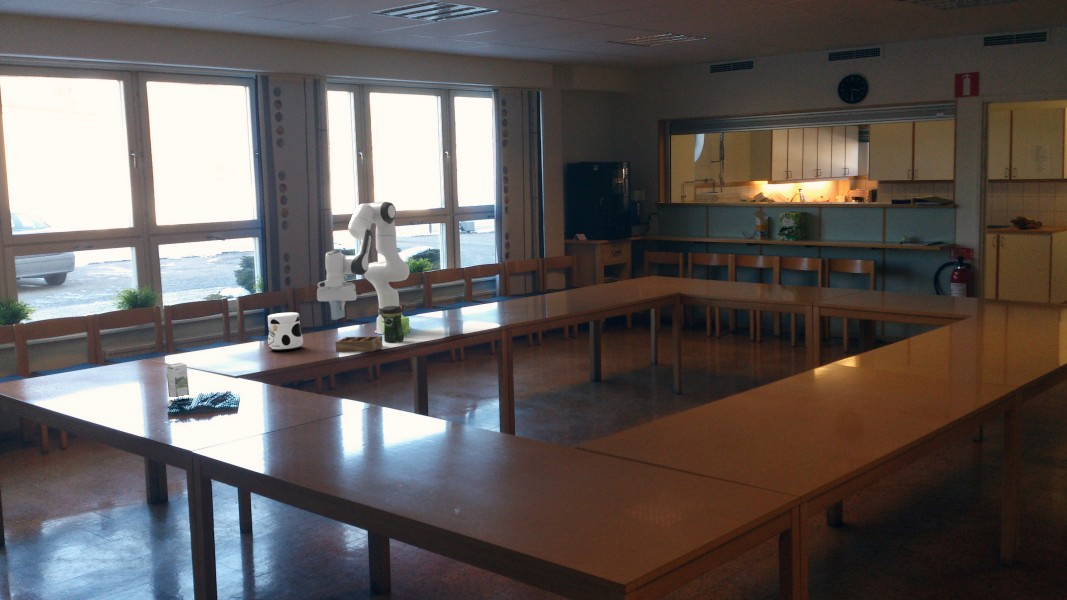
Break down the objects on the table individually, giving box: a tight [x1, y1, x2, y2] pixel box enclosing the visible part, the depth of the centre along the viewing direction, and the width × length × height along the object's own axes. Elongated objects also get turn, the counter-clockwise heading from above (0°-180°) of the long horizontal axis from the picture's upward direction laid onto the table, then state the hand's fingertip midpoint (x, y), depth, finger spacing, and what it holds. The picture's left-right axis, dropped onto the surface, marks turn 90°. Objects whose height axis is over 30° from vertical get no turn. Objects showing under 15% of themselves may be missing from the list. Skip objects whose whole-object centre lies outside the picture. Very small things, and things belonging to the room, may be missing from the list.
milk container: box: [267, 312, 304, 352], centre depth 482 cm, size 17×17×18 cm
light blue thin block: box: [329, 301, 346, 321], centre depth 479 cm, size 10×3×9 cm, turn 167°
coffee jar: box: [382, 305, 405, 343], centre depth 490 cm, size 10×8×19 cm
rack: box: [334, 335, 383, 353], centre depth 474 cm, size 14×19×5 cm
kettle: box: [382, 316, 411, 337], centre depth 507 cm, size 15×14×11 cm
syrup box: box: [165, 362, 190, 398], centre depth 379 cm, size 6×6×14 cm
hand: (337, 309), depth 479 cm, fingers closed on light blue thin block, 3 cm apart
